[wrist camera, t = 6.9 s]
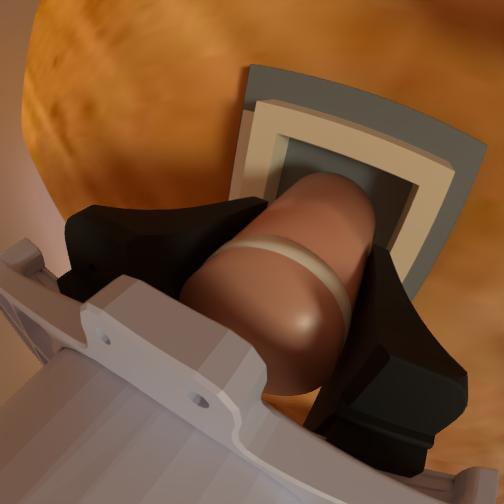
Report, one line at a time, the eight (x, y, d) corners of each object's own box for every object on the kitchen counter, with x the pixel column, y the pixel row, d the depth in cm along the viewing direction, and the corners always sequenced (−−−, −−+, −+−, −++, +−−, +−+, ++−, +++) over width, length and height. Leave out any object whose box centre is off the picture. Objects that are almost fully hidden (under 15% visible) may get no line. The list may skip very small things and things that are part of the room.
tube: (324, 277, 15) (257, 406, 9) (264, 210, 15) (155, 309, 9) (396, 229, 12) (375, 373, 6) (329, 150, 12) (239, 225, 6)
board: (393, 323, 18) (388, 354, 15) (226, 249, 21) (203, 271, 19) (483, 143, 11) (500, 154, 8) (257, 64, 14) (230, 61, 12)
